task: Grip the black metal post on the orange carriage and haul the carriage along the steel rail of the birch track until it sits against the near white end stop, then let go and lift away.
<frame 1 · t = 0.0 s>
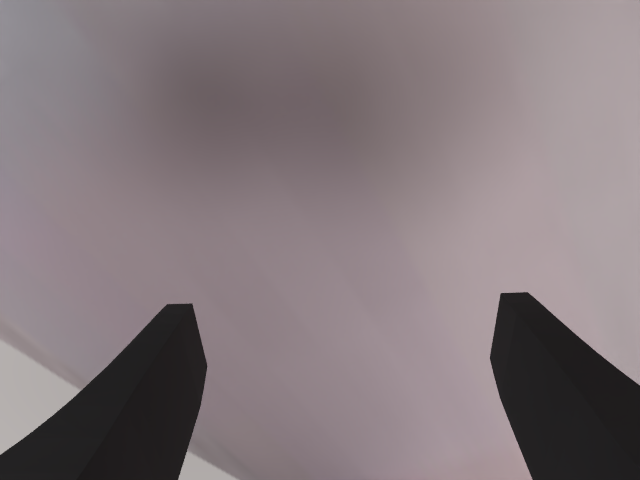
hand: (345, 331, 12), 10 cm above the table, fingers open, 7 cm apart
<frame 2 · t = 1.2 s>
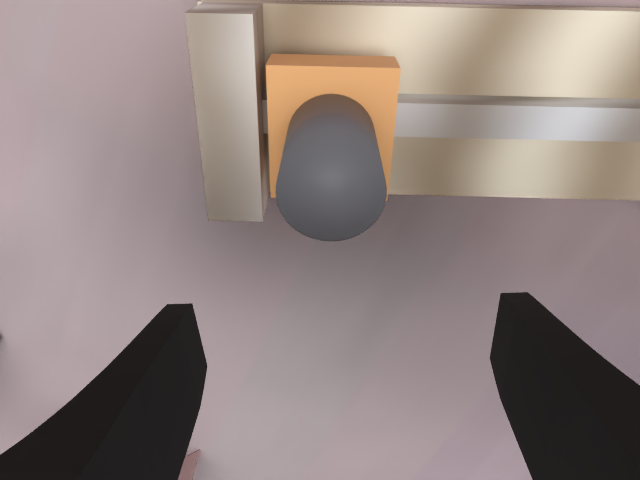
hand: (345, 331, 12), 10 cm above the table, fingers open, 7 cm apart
carriage: (331, 144, 16), point 5 cm above the table, slide at 0.0 cm
rail: (470, 103, 20), on the table
greeting card: (105, 458, 32), on the table
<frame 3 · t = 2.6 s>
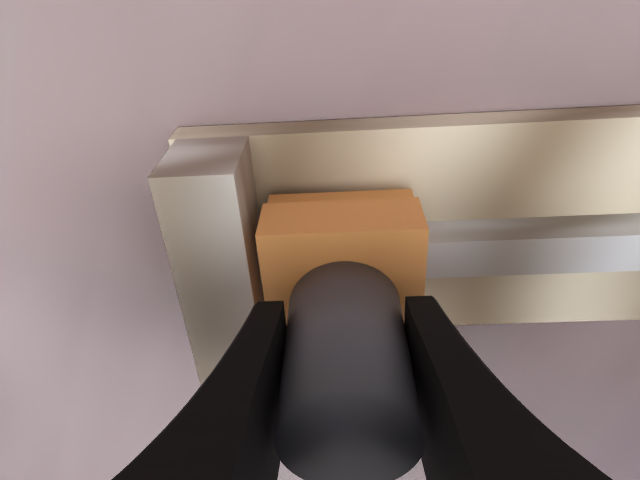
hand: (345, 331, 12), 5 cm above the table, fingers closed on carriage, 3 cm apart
carriage: (344, 322, 12), point 5 cm above the table, slide at 0.0 cm, touching gripper
rail: (510, 218, 16), on the table
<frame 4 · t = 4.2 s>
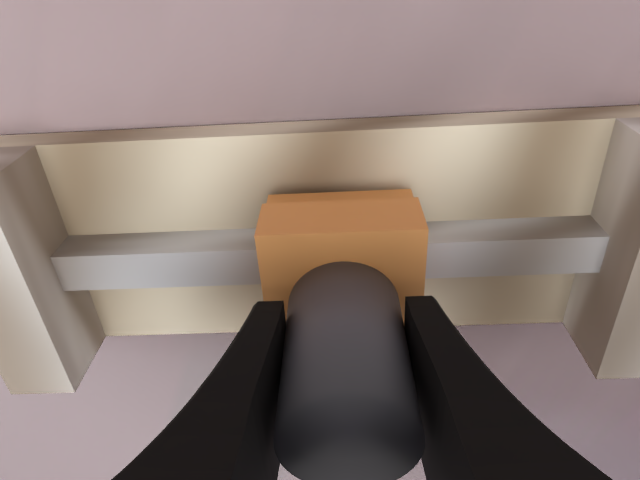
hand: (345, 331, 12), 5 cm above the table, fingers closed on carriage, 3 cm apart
carriage: (344, 323, 12), point 5 cm above the table, slide at 5.9 cm, touching gripper
rail: (325, 226, 16), on the table
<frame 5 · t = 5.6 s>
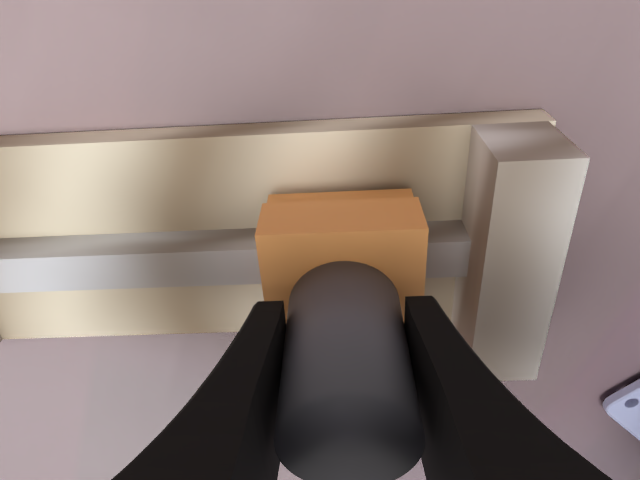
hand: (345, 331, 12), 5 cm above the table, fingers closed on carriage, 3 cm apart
carriage: (344, 322, 12), point 5 cm above the table, slide at 9.6 cm, touching gripper
rail: (210, 230, 16), on the table
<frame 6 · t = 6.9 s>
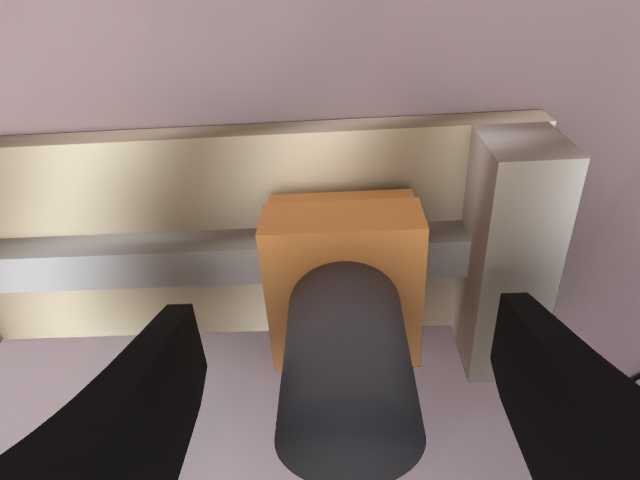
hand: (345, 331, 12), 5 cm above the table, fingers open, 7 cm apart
carriage: (345, 322, 12), point 5 cm above the table, slide at 9.6 cm
rail: (211, 230, 16), on the table
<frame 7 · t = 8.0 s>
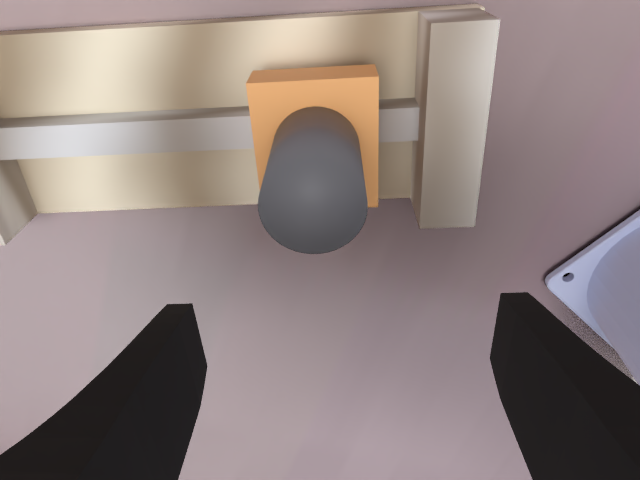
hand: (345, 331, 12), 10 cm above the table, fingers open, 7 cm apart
carriage: (315, 156, 16), point 5 cm above the table, slide at 9.6 cm
rail: (211, 115, 20), on the table
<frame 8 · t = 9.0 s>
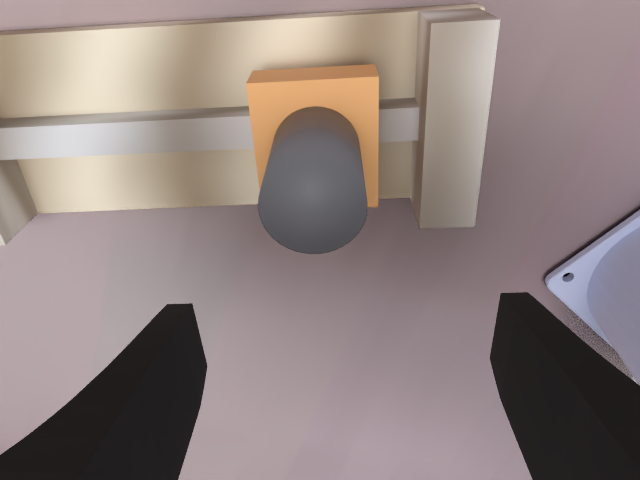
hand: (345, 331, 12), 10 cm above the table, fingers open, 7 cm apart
carriage: (315, 156, 16), point 5 cm above the table, slide at 9.6 cm
rail: (211, 115, 20), on the table
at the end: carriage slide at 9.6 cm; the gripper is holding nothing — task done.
